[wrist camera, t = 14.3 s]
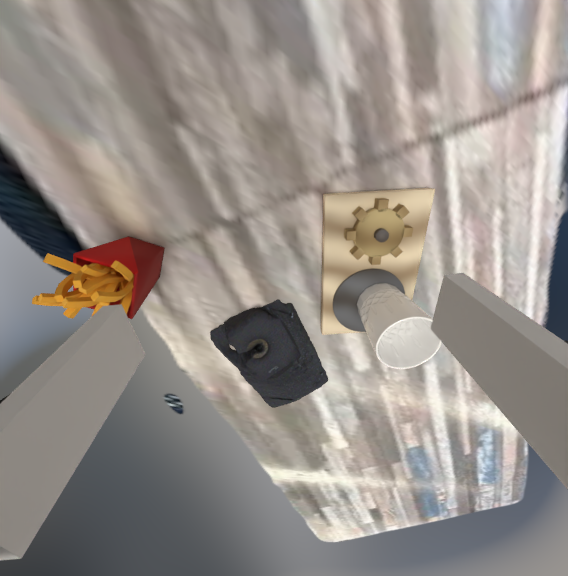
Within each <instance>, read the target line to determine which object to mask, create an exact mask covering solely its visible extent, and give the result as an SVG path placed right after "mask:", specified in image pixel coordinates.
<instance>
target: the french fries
mask: <svg viewBox="0 0 568 576" xmlns="http://www.w3.org/2000/svg"><path fill="white" fill-rule="evenodd" d="M163 254H164V247H161V246H157V245H154V244H151V243H148V242H145V241H142V240H139V239H135V238H132V237H126V238H122V239H119V240H116V241H113V242H109V243H106V244H103V245H100V246H97V247H93V248H90V249H87V250H84V251H81V252H77V253H74V254H73V263H72V262H70V261H67V260H65V259H62V258H59V257H56V256H54V255H51V254H47V255H46V257H45V259H44V261H43V262H45V263H48V264H51V265H54V266H57V267H59V268H62V269H65V270H68V271H70V272H72V274H70V275H69V276H68V277H66V278H65V279H64V280H63V281H62V282H61V283H59V285H58V287H57V289H56V291H55V294H45V293H41V294H40V296H35V297H34V298H33V300H32V304H37V305H46V306H63V307H64V308H67V310H66V311H65V312H64V315H65V316H67V317H68V318H74V317H75V316H76V314H77V313H78V312H79V310H80V309H81V308H82V307H88V308H91V309H95V310H94V312H93V314H92V316H93V315H94V314H95V313H96V312H97V311H98V310H99V309H100V308H101V307H103V306H109V305H120V304H122V306H123V308H124V310H125V313H126V315H127V317H128V318H130V319H132V318H133V317H134V315H135V314H136V312H137V311H138V309H139V308H140V306H141V305H142V303H143V302H144V300H145V299H146V297H147V296H148V294H149V292H150V291H151V289H152V288H153V286H154V285H155V283H156V282H157V280H158V279H159V277H160V272H161V266H162V260H163ZM73 285H74V286H73ZM72 286H73V288H74V289H73V291H71V292H68V290H69V289H70V288H71V287H72Z"/></svg>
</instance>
